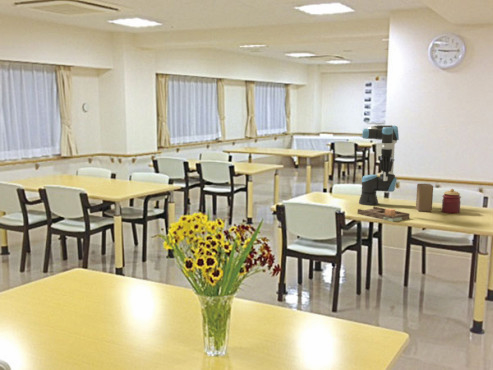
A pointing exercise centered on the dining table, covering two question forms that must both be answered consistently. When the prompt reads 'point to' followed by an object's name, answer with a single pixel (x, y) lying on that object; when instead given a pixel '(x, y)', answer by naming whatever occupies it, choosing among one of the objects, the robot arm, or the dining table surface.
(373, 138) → the robot arm
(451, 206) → the canister
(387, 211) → the terracotta cube
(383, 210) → the trap tray
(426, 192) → the block
